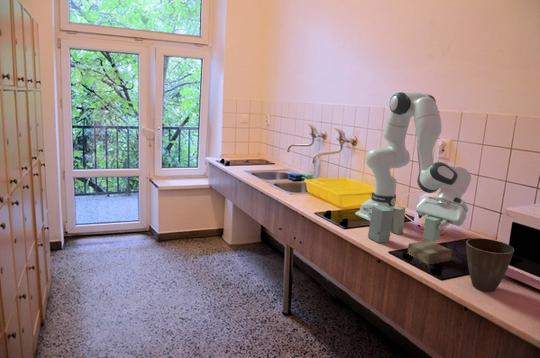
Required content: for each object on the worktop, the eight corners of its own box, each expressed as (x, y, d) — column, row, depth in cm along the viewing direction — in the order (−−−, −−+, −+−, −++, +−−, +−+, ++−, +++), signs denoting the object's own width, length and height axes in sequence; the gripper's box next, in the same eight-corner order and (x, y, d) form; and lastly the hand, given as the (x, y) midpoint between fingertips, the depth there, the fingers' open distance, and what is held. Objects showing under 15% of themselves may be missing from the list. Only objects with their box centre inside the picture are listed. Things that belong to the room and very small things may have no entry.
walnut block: (407, 254, 177) (408, 243, 176) (428, 250, 182) (429, 240, 181) (428, 265, 166) (429, 254, 165) (450, 261, 171) (451, 250, 170)
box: (395, 230, 207) (397, 205, 204) (403, 232, 204) (405, 207, 201) (389, 232, 204) (392, 207, 201) (398, 234, 200) (400, 209, 198)
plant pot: (451, 280, 152) (457, 240, 149) (481, 275, 158) (487, 236, 154) (485, 300, 139) (492, 255, 135) (517, 293, 144) (524, 250, 141)
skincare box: (367, 237, 195) (370, 205, 192) (379, 236, 198) (382, 204, 195) (378, 243, 188) (381, 210, 184) (391, 242, 190) (394, 209, 187)
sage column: (423, 238, 173) (425, 217, 171) (429, 236, 175) (431, 216, 173) (432, 241, 169) (435, 220, 167) (438, 239, 172) (441, 218, 170)
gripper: (422, 191, 181) (407, 216, 177) (468, 201, 165) (452, 229, 161) (427, 199, 184) (412, 224, 181) (472, 211, 168) (456, 238, 165)
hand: (431, 227), depth 171 cm, fingers closed on sage column, 4 cm apart
